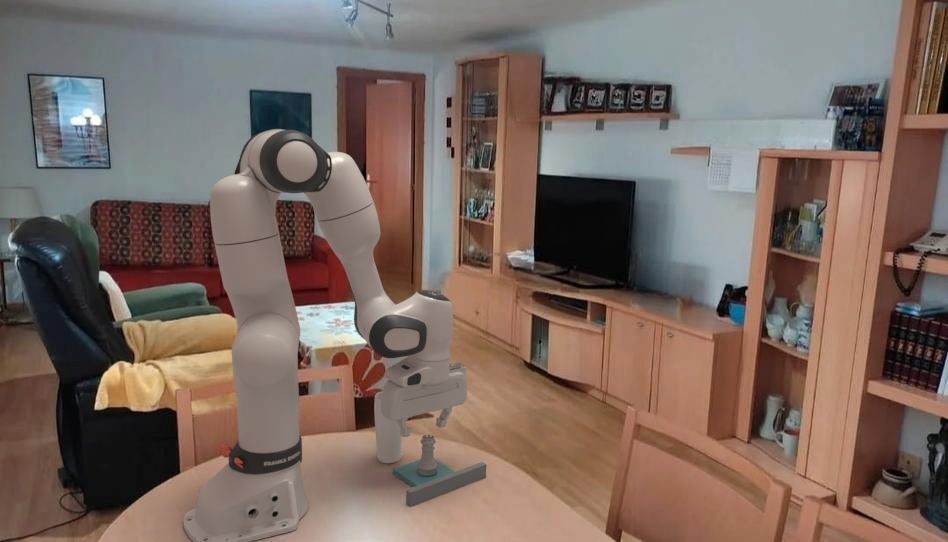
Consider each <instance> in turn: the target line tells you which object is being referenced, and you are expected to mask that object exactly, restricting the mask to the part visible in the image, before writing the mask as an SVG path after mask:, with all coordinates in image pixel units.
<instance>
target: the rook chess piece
mask: <svg viewBox="0 0 948 542" xmlns="http://www.w3.org/2000/svg"><path fill="white" fill-rule="evenodd" d="M419 442H420V443H421V444H422V445H421V456H420V457H421V458H420V459H419V460H420V461H419V463H418V465H417V467H418V468H417V472H418V473H419V474H420V475H422V476H432V475H434V474H436V472H437V470H438V469H437V463H436V461H435V460H436V459H435V455H434V450H435V446H434V445H435V444H436V443H437V441H436V440H435V435H433V434H432V435H431V434H427V435H426V434H423V435H422V437H421V439H420V441H419Z"/></svg>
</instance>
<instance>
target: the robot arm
mask: <svg viewBox="0 0 948 542" xmlns="http://www.w3.org/2000/svg"><path fill="white" fill-rule="evenodd" d="M237 162H238V163H237V165H236V167H235V170H234V174H231V175H228V176H225V177H223V178H221V179H220V180H218V181H217V182H216V183H214V185H213V186H212V188H211V190H210V193H209V212H210V223H211V231H212V239H213V242H214V247H215V252H216V258H217V262H218V267H219V271H220V276H221V281H222V285H223V289H224V290H225V292H226V294H227V297H228V299H229V302H230V305H231V307H232V311H233V314H234V317H235V320H236V326H237V329H236V331H237V332H236V336H235V337H234V340H233V343H232V346H231V363H232V373H233V376H232V377H233V382H234V390H235V396H236V404H237V405H236V406H237V435H238V436H237V438H238V439H237V441H236V443H235V445H234V447H233V448H232V447H230V445H228V444H227V443H223V444H221V445H220V447H218V453H219V454H220V455H221V456H222V457H223V458H228V463H226V465H225V466H224V467H223V468H222V469H220V470H219V471H218V472H216V474H215V475H214V476H213V477H212V478H210V480H208V481H207V482H206V483H205V484H203V486H201V488H200V490H199V492H198V494H197V499H196V505H195V508H192V509H191V510H188V511H186V512H185V513H184V515H183V521H182V524H183V525H182V526H183V530H184V532H185V534H186V535H187V537H188V538H189V539H190V540H191V541H192V542H254V541H257V540H261V539H262V540H263V539H266V538H269V537H273V536H277V535H281V534H282V535H283V534H285V533H290V532H294V531H295V530H297V529H298V527H299V523H300V520H301V519H302V518H303V517H304V516H305V515H306V513H307V512H308V510H309V505H310V504H309V500H308V498H307V495H306V494H307V493H306V491H305V487H304V481H303V475H302V467H301V466H302V465H301V464H302V461H303V441H302V440H303V439H302V436H301V434H300V394H299V391H300V390H299V372H298V371H299V367H298V366H299V365H298V362H299V361H298V356H299V354H298V353H299V345H300V339H301V338H300V336H301V327H300V326H301V325H300V323H299V318H298V312H297V307H296V304H295V299H294V296H293V292H292V289H291V288H292V287H291V284H290V281H289V278H288V272H287V267H286V263H285V262H286V261H285V257H284V251H283V246H282V241H281V237H280V231H279V225H278V221H277V218H276V211H277V210H276V209H277V208H276V207H277V203H278V199H279V197H280V196H281V193H282V194H287V193H288V194H302V193H303V194H304V195H305V196H306V198H307V199H308V200H309V202H310V204H311V205H312V208H313V211H314V214H315V217H316V220H317V222H318V225H319V228H320V230H321V232H322V234H323V236H324V238H325V240H326V242H327V244H328V245H329V247H330V248H331V251H333V253H334V255H335V256H336V257H337V258H338V259H339V261H340V263H341V265H342V266H343V269H344V272H345V274H346V277H347V280H348V283H349V287H350V289H351V292H352V295H353V298H354V313H353V323H354V327H355V330H356V332H357V333H358V335H359V336H360V337H361V338H362V339H363V340H365V342H366V343H367V345H369V347H370V348H371V350H372V351H373V352H374V353H375V354H376V355H378V356H379V357H382V358H385V359H398V358H403V359H402V360H400V361H399V362H397V363H395V364H393V365H392V366H389V367H388V368H386V370H385V378H386V379H387V381H386V382H385V384H384V385H383V388H382V391H383V392H382V391H381V392H382V400H381V413H382V414H383V416H384V417H386V418H387V419H389V420H391V421H397V423H398V424H399V426H400V435H401V436H402V438H407V437H410V436H411V432H412V431H411V430H412V428H411V427H409V426H408V425H407V424H406V423H408V418H412V417H416V416H420V415H425V414H428V413H433V412H437V411H441V412H440V415H439V417H436V419H435V420H436V423H435V425H436V427H438V428H439V429H440V428H441V429H442V428H445V427H446V426H447V420H448V418H449V416H450V415H451V414H452V412H453V408H454V407H458V406H462V405H464V404H465V402H466V401H467V397H468V384H467V367H466V365H465V364H463V363H462V362H455V363H451V357H452V356H451V349H450V343H451V341H452V339H453V329H454V328H453V327H454V310H453V303H452V302H451V300H450V299H449V298H448V297H447V296H445V295H444V294H442V293H438V292H436V291H432V290H425V289H424V290H417V291H416V292H415V293H414V294H413V295H412V296H410V297H409V298H406V299H405V300H403V301H402V302H399V303H397V304H396V302H395V301H394V300H393V299H392V298H390V297H389V295H388V294H387V292H386V291H385V290H384V286H383V284H382V281H381V277H380V274H379V271H378V269H377V266H376V265H377V264H376V263H375V259H374V249H375V246H377V244H378V242H379V240H380V238H381V227H380V220H379V215H378V212H377V208H376V205H375V202H374V199H373V197H372V194H371V191H370V189H369V186H368V184H367V182H366V180H365V178H364V176H363V174H362V172H361V171H360V168H359V166H358V165H357V163H356V161H355V160H354V159H353V157H352V156H351V155H350V154H347V153H345V152H342V151H341V152H340V151H329V152H327V151H326V150H325V149H323V148H322V147H321V146H320V145H319V144H318V143H317V142H316V141H315V140H314V139H312V137H310V136H309V135H307V134H306V133H303V132H301V131H298V130H295V129H282V128H274V129H269V130H265V131H262V132H259V133H256V134H255V135H253V136H251V137H250V138H249V139H248V140H247V142H245V144H244V145H243V148H242V149H241V153H240V155H239V158H238V161H237ZM404 357H405V358H404Z"/></svg>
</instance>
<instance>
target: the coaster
mask: <svg viewBox="0 0 948 542" xmlns="http://www.w3.org/2000/svg"><path fill="white" fill-rule="evenodd" d="M420 460H421V459H418V460H415V461H412V462H409V463H406V464H403V465H401V466H397V467H395V468H392V474H393V475H395V476H396V477H397V478H399V479H401V480H402V481H403V482H405V483H406V484H408V485H409V486H411V488H412V487H415V486H418V485H420V484H423V483H426V482H428V481H431V480H434V479H436V478H439V477H442V476H445V475H447V474H450V473H453V472H455V471H456V470H453V469H452V468H450V467H449V466H447V465H445V464H443V463H442V462H440V461H439V460H436V459H435V461H436V463H437V469H438V470H437V472H436V474H434V475H432V476H422V475H420V474H419V473H418V472H417V468H418V467H417V465H418V463H419V461H420Z"/></svg>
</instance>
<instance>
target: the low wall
mask: <svg viewBox="0 0 948 542" xmlns="http://www.w3.org/2000/svg"><path fill="white" fill-rule="evenodd" d="M487 466H488V465H487V463H485V462H484V461H479V462H477V463H474V464H472V465H469V466H466V467H464V468H461V469H457V470H454V471H455V472H453V473H450V474H447V475H445V476H442V477H439V478H436V479H434V480H431V481H428V482H426V483H423V484H420V485H418V486H415V487H412V486H411V487H410V488H407V489H406V490H405V491H406V492H405V504H406V505H407V506H409V507H414V506H416V505H418V504H422V503H423V502H426V501H428V500H429V501H430V500H431V499H434V498H436V497H439V496H441V495H445V494H446V493H449V492H451V491H454V490H457V489H460V488H462V487H465V486H467V485H470V484H472V483H476V482H477V481H480V480H482V479H485V478H487Z"/></svg>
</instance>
